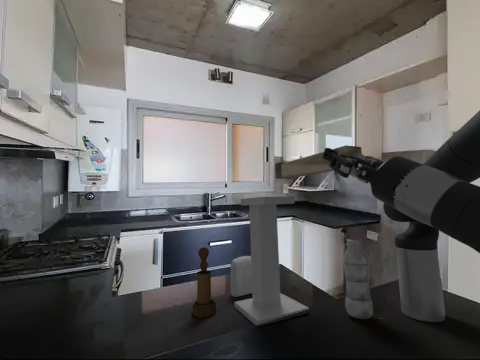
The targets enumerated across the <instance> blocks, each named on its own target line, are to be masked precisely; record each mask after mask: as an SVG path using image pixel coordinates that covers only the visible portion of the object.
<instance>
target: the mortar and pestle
mask: <svg viewBox="0 0 480 360" xmlns="http://www.w3.org/2000/svg"><path fill="white" fill-rule="evenodd" d="M209 254H210V251H209V249H208V248H207V247H201V248H199V250H198V256H199V259H200V260H201V261H200V263H199V266H200V267H199V268H200V270H199V271H197V273H196V274H197V275H196V277H197V278H196V279H197V281H196V282H197V283H196V285H197V286H196V287H197V289H196V290H197V291H196V292H197V293H196V300H195V301H194V303H193V304H192V315H193V316H194V317H196V318H208V317H211V316H214V315H215V314H216V312H217V305H216V304H217V303H216V301H214V300H213V299H212V282H211V281H212V275H211V274H212V272H211V271H210V270H208V267H209V266H208V265H209V263H208V262H207V258H208V256H209Z"/></svg>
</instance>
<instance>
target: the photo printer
mask: <svg viewBox="0 0 480 360" xmlns="http://www.w3.org/2000/svg"><path fill="white" fill-rule="evenodd" d="M230 293H231V297H234V298H238V297H242V296H245V295H249V294H250V295H252V269H251V255H250V256H249V255H242V256H239V257H237V258H234V259H233V260H232V261H231V262H230Z"/></svg>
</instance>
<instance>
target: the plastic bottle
mask: <svg viewBox="0 0 480 360" xmlns="http://www.w3.org/2000/svg"><path fill="white" fill-rule="evenodd" d="M345 245H346V246H347V249H346V250H345V252H344V253H343V255H342V259H341V260H342V264H343V268H344V274H345V282H346V285H345V289H346V290H345V293H346V295H345V300H344V306H345V310H346V312H347V314H348V315H349V316H351V317H352V318H355V319H359V320H367V319H368V320H370V318H371V317H372V316H373V315H374V314H373V313H374V305H373V302H372V299H371V292H370V285H369V284H370V283H369V276H370V275H369V270H370V258H369V255H368V254H367V253H366V252H365V250H364V249H363V248H362V247H363V241H362V238H359V237H358V238H356V237H351V238H350V237H348V238H346V244H345Z"/></svg>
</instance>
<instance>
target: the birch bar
mask: <svg viewBox="0 0 480 360" xmlns="http://www.w3.org/2000/svg"><path fill="white" fill-rule="evenodd" d="M332 149H333V150H335V151H337V152H341V153H343V154H346V155H348V156H349V155H357V156H360V157H362V155H363V154H362V153H363V150H362V147H361V146H356V145H355V146H353V145H342V146H340V147H339V146H338V147H335V148H332ZM323 153H324V151H322V152H319V153H315V154H311V155H308V156H304V157H301V158H298V159H293V160H290V161H287V162H283V161H279V162H276V163H275V164H274V167H275V168H274V169H275V179H276V180H277V179H279V180H291V179H295V178H300V177H301V178H302V177H306V176H311V175H318V174H322V173H328V172H335V171H334V170H333V169H332V168H331V167H329V164H330V161H328V160H326V159H324V158H323ZM356 161H357V160H355V161H354V164H355V162H356ZM354 164H353V167H354Z"/></svg>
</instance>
